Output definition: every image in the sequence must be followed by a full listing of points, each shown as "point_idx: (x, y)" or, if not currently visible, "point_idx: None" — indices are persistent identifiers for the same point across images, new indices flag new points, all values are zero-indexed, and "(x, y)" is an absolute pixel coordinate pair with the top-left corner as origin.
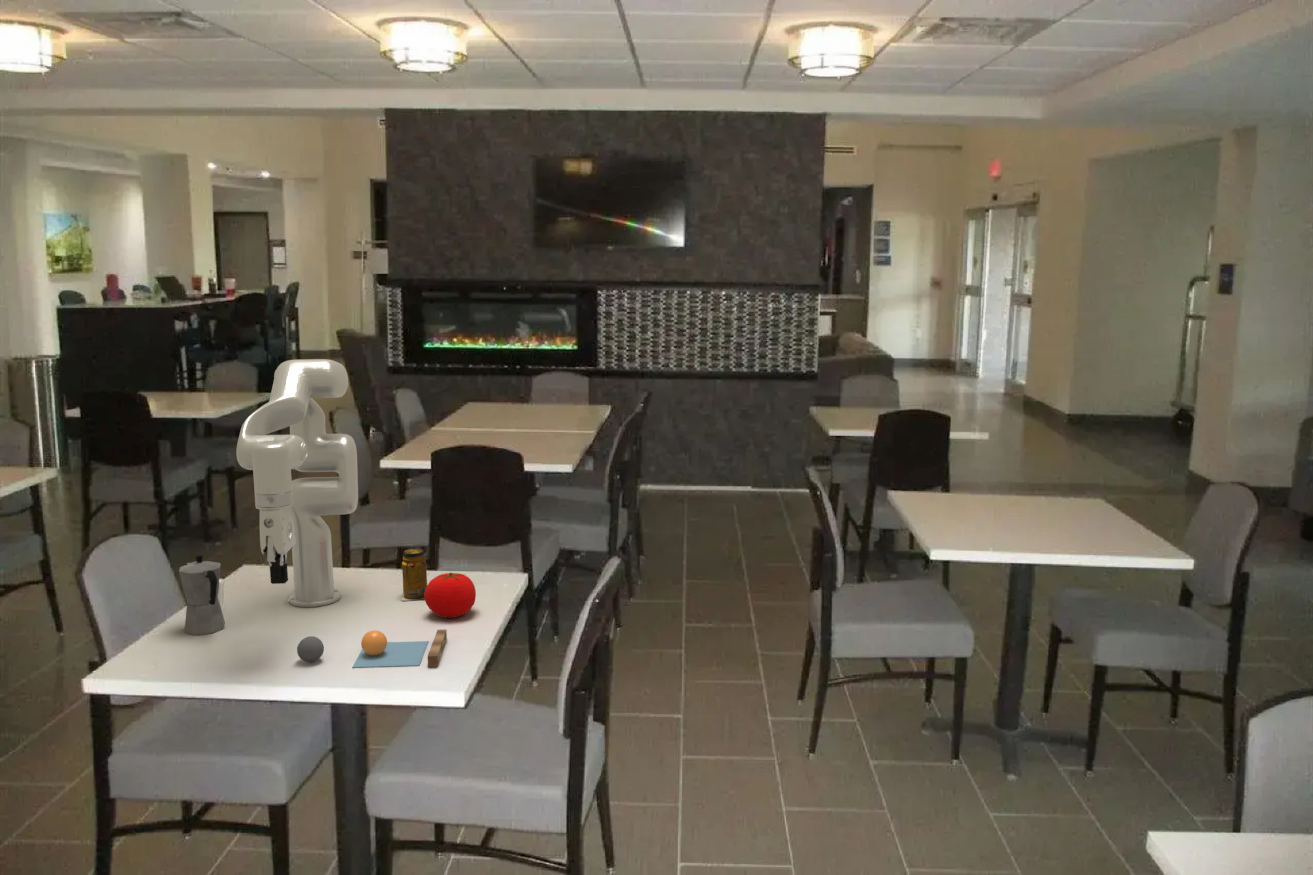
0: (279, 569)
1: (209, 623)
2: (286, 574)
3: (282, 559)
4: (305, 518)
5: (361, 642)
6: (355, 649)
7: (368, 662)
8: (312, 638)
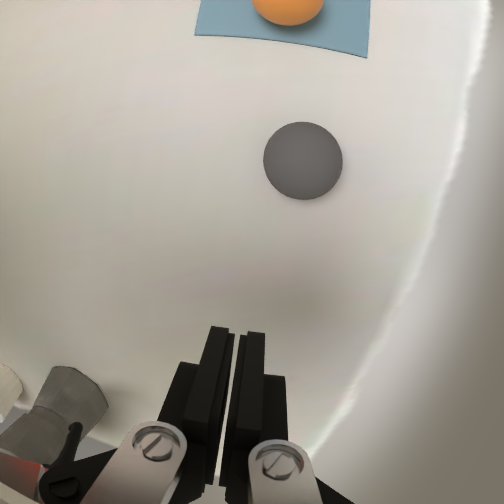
0: (285, 438)
1: (88, 399)
2: (221, 359)
3: (295, 502)
4: None
5: (295, 19)
6: (231, 53)
7: (342, 21)
8: (316, 152)
